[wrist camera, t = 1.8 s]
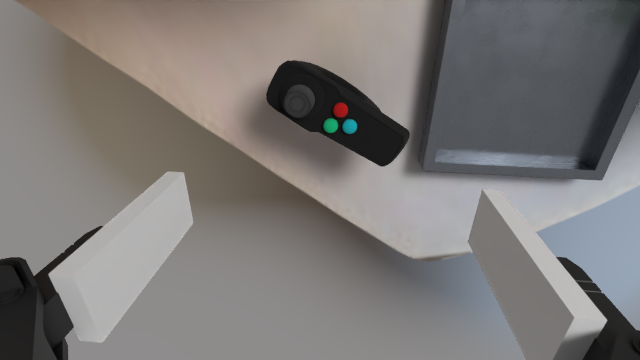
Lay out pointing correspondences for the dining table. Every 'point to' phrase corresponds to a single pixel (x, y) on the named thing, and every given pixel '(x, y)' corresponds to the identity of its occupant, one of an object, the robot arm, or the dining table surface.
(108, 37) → the dining table surface
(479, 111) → the tray
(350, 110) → the controller
